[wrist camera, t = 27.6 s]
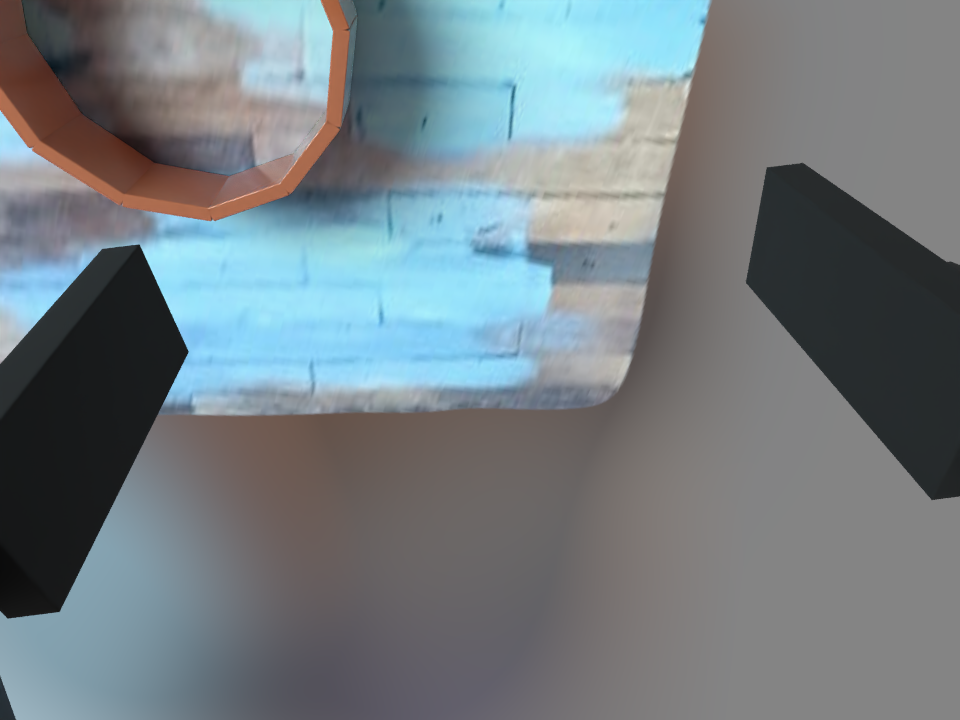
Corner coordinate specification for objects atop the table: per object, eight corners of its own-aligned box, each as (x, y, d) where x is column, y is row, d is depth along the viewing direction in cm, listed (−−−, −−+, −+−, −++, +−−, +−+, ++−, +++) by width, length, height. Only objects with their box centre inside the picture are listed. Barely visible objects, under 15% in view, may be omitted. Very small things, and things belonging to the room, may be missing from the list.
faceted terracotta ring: (372, -134, 30) (366, -138, 26) (339, 206, 40) (330, 241, 36) (-41, -249, 27) (-120, -274, 23) (34, 154, 37) (-13, 185, 33)
